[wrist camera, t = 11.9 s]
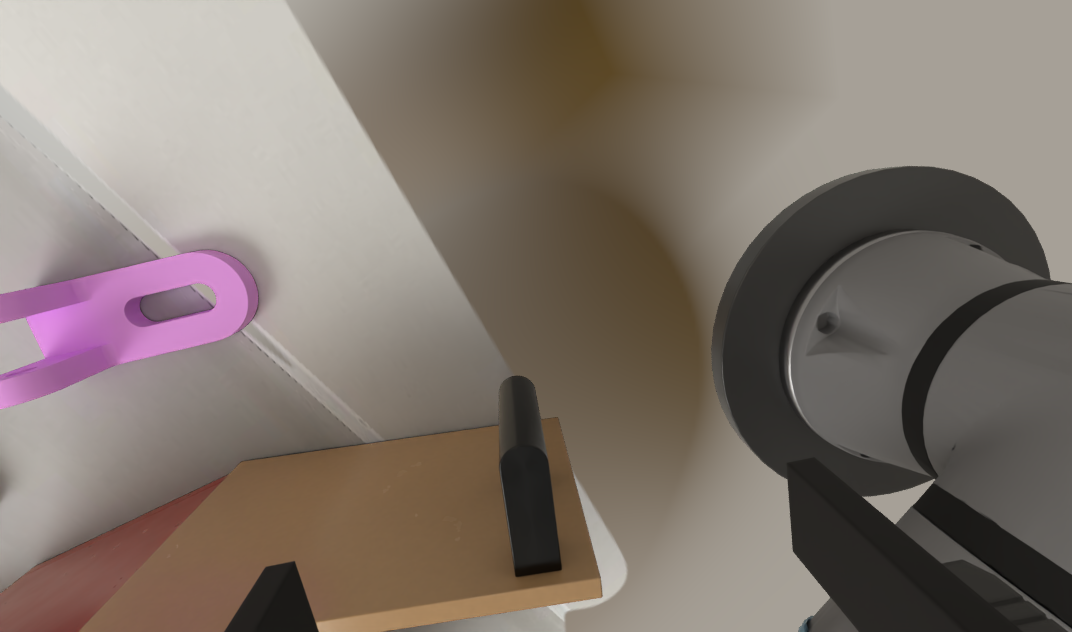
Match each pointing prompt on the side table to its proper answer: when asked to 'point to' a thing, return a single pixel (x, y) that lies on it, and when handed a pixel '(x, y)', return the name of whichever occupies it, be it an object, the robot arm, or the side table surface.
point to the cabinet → (91, 571)
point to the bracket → (121, 319)
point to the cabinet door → (381, 533)
